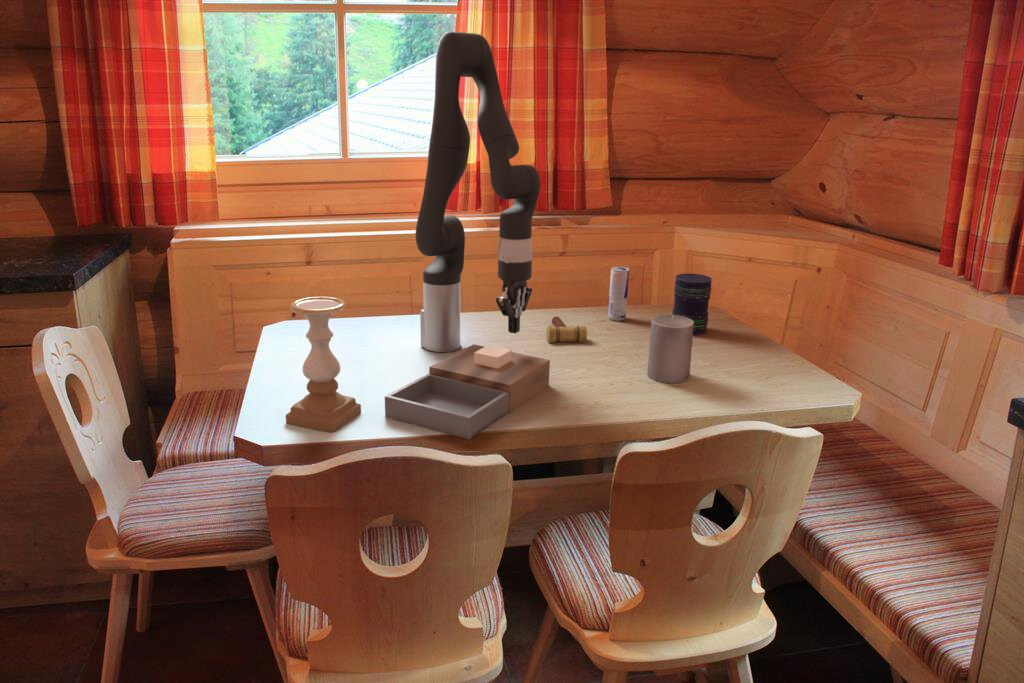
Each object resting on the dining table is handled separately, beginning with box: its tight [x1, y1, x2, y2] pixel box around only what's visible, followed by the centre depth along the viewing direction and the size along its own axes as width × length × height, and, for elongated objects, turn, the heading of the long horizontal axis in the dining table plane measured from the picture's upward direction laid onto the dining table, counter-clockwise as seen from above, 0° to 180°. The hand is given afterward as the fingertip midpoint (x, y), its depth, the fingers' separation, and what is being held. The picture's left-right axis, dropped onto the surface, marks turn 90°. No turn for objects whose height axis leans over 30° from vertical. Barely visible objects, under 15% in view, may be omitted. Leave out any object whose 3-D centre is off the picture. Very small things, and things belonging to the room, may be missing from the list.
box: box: [384, 373, 510, 441], centre depth 162 cm, size 20×15×4 cm
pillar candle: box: [646, 314, 694, 384], centre depth 184 cm, size 10×10×15 cm
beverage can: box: [607, 266, 630, 322], centre depth 228 cm, size 5×5×15 cm
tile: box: [474, 345, 513, 368], centre depth 176 cm, size 6×6×2 cm
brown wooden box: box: [428, 343, 551, 413], centre depth 176 cm, size 20×18×6 cm
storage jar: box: [671, 273, 713, 337], centre depth 219 cm, size 10×10×15 cm
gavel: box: [545, 316, 588, 344], centre depth 217 cm, size 21×5×10 cm
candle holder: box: [285, 296, 362, 433], centre depth 157 cm, size 11×11×24 cm
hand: (513, 332), depth 182 cm, fingers closed
